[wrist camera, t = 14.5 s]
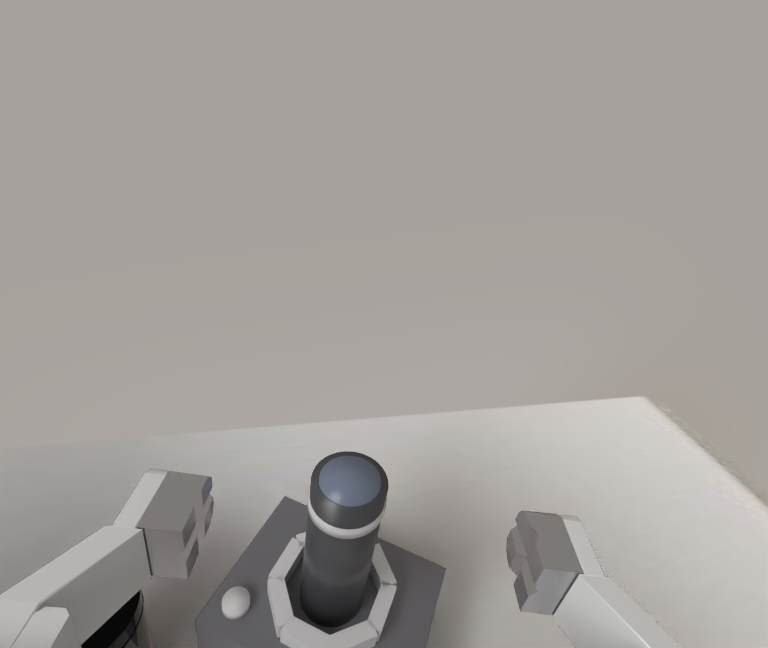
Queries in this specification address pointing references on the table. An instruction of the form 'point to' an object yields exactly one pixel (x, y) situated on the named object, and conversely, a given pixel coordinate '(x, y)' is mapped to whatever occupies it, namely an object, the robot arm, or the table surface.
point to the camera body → (282, 596)
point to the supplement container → (124, 628)
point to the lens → (341, 535)
